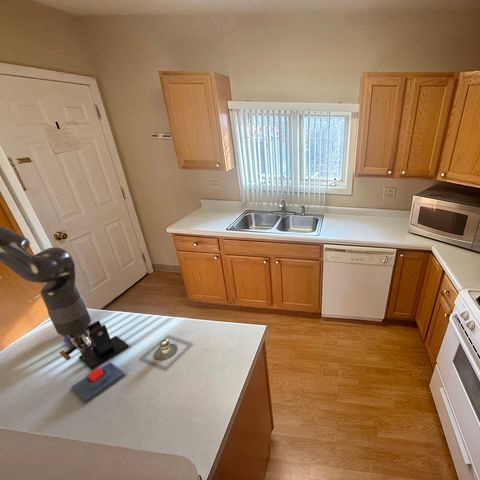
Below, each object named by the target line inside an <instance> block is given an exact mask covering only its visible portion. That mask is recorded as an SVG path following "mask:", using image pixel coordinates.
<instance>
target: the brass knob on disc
mask: <svg viewBox="0 0 480 480" xmlns="http://www.w3.org/2000/svg"><path fill="white" fill-rule="evenodd" d="M177 351H178V346H177V345H176V344H174V343H171V342H170V340H169V339H167V338H166V339H163V340H161V341H160V342H159V347H158V348H157V349H156V351H154V353H153V356H154V359H155V360H158V361H163V360H167V359H170V358H171V357H173V356H174V355H175V354H176V353H177Z"/></svg>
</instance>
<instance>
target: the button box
mask: <svg viewBox="0 0 480 480" xmlns="http://www.w3.org/2000/svg"><path fill="white" fill-rule="evenodd" d="M99 368H100V369H102V370H103V373H104V375H103V377H102V378H100V379H99V380H97V381H94V382H92V381H90V379H89V377H88V375H89V373H88V374H87V375H86V376H85V377H84V378H83V379H81V380H79V381H77V382H76V383H74V384H73V385H71V386H70V387H71V389H72V390H73V391H74V393H75V394H76V395H77V396H79V398H81V400H82V401H83V402H84V403H88V402H89V401H91V400H92V399H94V397H96V396H98V395H99V394H101V393H103V391H105V390H107V389H108V388H109V387H111V386H112V385H114V384H115V383H116V382H118V381H119V380H121V379H122V378H124V377H125V373H124V372H123V371H122V370H120V369H119V368H118V367H117V366H115V365H114V364H113V363H112V362H108V363H105V365H103V366H101V367H99Z"/></svg>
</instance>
